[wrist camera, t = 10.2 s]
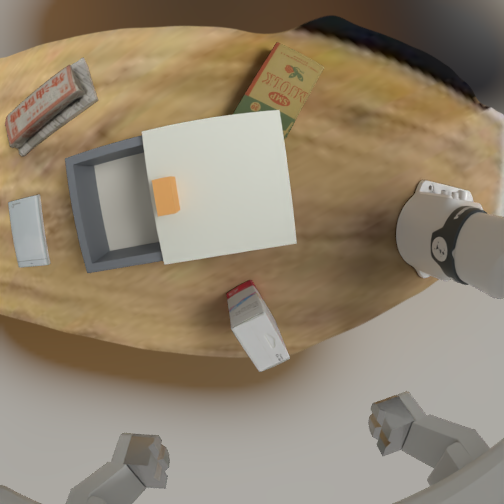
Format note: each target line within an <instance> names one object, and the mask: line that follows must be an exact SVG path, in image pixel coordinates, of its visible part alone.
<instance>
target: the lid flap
mask: <svg viewBox="0 0 504 504" xmlns="http://www.w3.org/2000/svg"><path fill="white" fill-rule="evenodd" d="M142 138H143V147H144V154H145V162H146V169H147V175H148V182H149V188H150V194H151V200H152V206H153V211H154V217H155V222H156V227H157V232H158V237H159V242H160V247H161V252H162V256H163V261H164V265H165V264H172V263H178V262H184V261H190V260H196V259H203V258H209V257H215V256H221V255H227V254H234V253H240V252H246V251H252V250H259V249H265V248H271V247H277V246H284V245H290V244H296V243H297V241H296V231H295V222H294V213H293V205H292V196H291V188H290V180H289V172H288V165H287V158H286V150H285V143H284V137H283V130H282V123H281V117H280V111H279V110H271V111H260V112H250V113H242V114H234V115H226V116H219V117H212V118H206V119H200V120H194V121H189V122H184V123H178V124H174V125H169V126H164V127H159V128H155V129H151V130H147V131H142Z"/></svg>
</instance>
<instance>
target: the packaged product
mask: <svg viewBox="0 0 504 504" xmlns="http://www.w3.org/2000/svg"><path fill="white" fill-rule="evenodd" d="M97 101H98V98H97V94H96V91H95V88H94V86H93V82H92V79H91V76H90V72H89V68H88V66H87V63H86V61H85V59H84V58H81V59H80V60H79V61H77V62H76V63H74V64H72V65H68V66H67V67H65V68H64V69H62V70H61V71H60V72H58V73H57V74H56V75H54V76H53V77H51V78H50V79H49V80H48V81H46V82H45V83H44V84H43V85H41V86H40V87H39V88H38V89H37V90H35V91H34V92H33V93H32V94H31V95H30V96H28V97H27V98H26V99H25V100H24V101H23V102H22V103H20V104H19V105H18V106H17V107H16V108H15V109H14V110H13V111H12V112H11V113H10V114H9V115H8V116H7V117H6V122H5V126H6V130H7V136H8V140H9V144H10V147H12V148H14V147H15V148H18V150H19V154H20V155H21V156H25V155H26V154H28V153H29V152H30V151H31V150H32V149H33V148H34V147H36V146H37V145H38V144H40V143H41V142H42V141H44V140H45V139H46V138H47V137H49V136H50V135H51V134H53V133H54V132H55V131H57V130H58V129H59V128H61V127H62V126H64V125H65V124H66V123H68V122H69V121H70V120H72V119H73V118H75V117H76V116H77V115H79V114H80V113H81V112H83V111H84V110H86V109H87V108H88V107H90V106H91V105H93V104H94V103H96V102H97Z"/></svg>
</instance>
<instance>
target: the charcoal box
mask: <svg viewBox="0 0 504 504" xmlns="http://www.w3.org/2000/svg"><path fill="white" fill-rule="evenodd" d="M65 162H66V171H67V178H68V185H69V192H70V198H71V204H72V210H73V215H74V220H75V225H76V230H77V234H78V239H79V243H80V247H81V251H82V255H83V259H84V263H85V266H86V270H87V273H92V272H98V271H104V270H110V269H116V268H122V267H128V266H134V265H140V264H146V263H152V262H158V261H163V256H162V252H161V247H160V242H159V237H158V232H157V227H156V222H155V217H154V211H153V206H152V200H151V194H150V188H149V182H148V175H147V169H146V162H145V154H144V147H143V138H142V136H138V137H134V138H130V139H126V140H123V141H119V142H115V143H112V144H109V145H105V146H102V147H99V148H95V149H92V150H89V151H86V152H83V153H80V154H77V155H74V156H71V157H68V158H65Z"/></svg>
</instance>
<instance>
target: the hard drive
mask: <svg viewBox="0 0 504 504" xmlns="http://www.w3.org/2000/svg"><path fill="white" fill-rule="evenodd" d="M8 205H9V214H10V221H11V228H12V235H13V241H14V246H15V251H16V256H17V261H18V265H19V267H31V266H42V265H49V264H50V259H49V254H48V248H47V243H46V236H45V230H44V223H43V216H42V207H41V198H40V194H39V195H35V196H30V197H26V198H22V199H18V200H15V201H11V202H8Z"/></svg>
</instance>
